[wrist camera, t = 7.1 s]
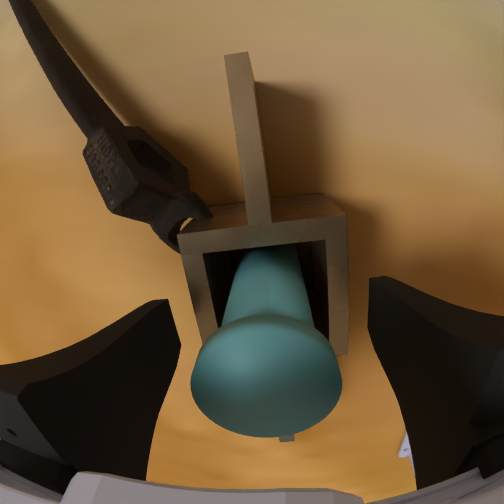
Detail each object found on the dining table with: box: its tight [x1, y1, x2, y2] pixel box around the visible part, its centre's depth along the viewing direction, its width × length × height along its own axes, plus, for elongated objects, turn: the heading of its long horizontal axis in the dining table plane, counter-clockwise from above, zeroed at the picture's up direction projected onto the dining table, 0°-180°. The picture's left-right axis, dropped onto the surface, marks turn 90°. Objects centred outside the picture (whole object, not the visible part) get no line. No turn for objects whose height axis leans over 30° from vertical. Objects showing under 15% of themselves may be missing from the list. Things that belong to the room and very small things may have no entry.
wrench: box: [9, 0, 213, 254], centre depth 11 cm, size 5×5×30 cm
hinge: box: [177, 52, 349, 442], centre depth 14 cm, size 18×6×5 cm, turn 8°
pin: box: [191, 243, 342, 437], centre depth 12 cm, size 4×4×10 cm
